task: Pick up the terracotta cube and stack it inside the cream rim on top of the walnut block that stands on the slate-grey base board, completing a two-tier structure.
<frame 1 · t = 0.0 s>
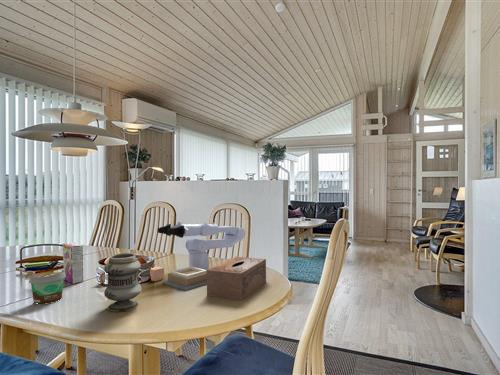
hand: (163, 231, 149), 22 cm above the table, tool horizontal, fingers open, 7 cm apart
apothecary jar: (123, 307, 115), on the table
food container: (51, 301, 122), on the table
terracotta cube: (156, 279, 150), on the table
build base: (189, 282, 144), on the table
candy bar box: (73, 281, 148), on the table
roller toy: (107, 283, 144), on the table
tissue box cover: (238, 289, 135), on the table
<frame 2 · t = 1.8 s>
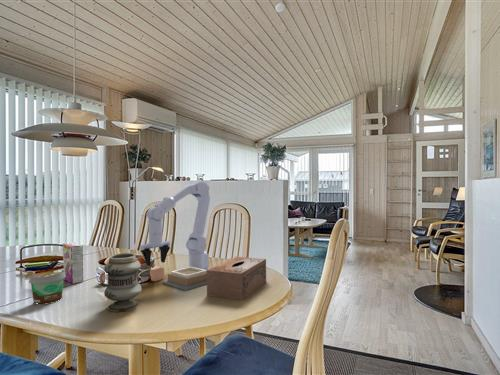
hand: (155, 263, 149), 7 cm above the table, tool pointing down, fingers open, 7 cm apart
nothing on the table moved.
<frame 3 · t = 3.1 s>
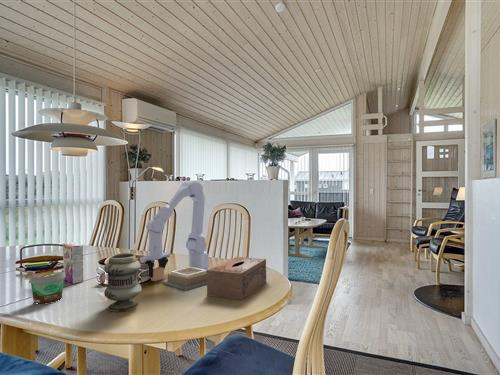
hand: (156, 275, 150), 1 cm above the table, tool pointing down, fingers closed on terracotta cube, 5 cm apart
terracotta cube: (156, 279, 150), on the table, touching gripper
everything else where it was.
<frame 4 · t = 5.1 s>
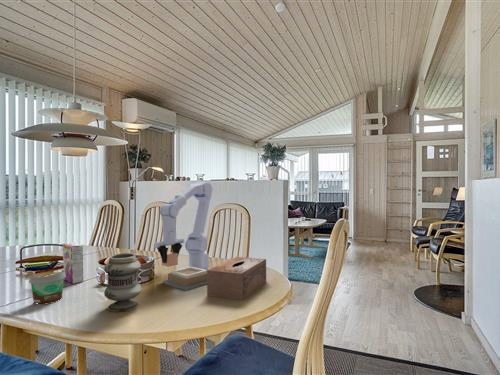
hand: (170, 261, 147), 8 cm above the table, tool pointing down, fingers closed on terracotta cube, 5 cm apart
terracotta cube: (169, 264, 147), point 7 cm above the table, touching gripper
everything else where it was.
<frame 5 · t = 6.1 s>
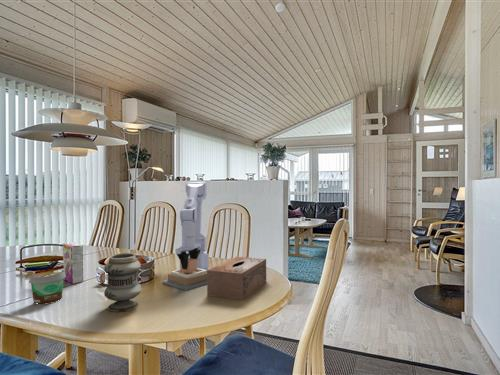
hand: (189, 267, 144), 6 cm above the table, tool pointing down, fingers closed on terracotta cube, 5 cm apart
terracotta cube: (188, 271, 144), point 5 cm above the table, touching gripper
everything else where it was.
when the fingers open (6 cm above the table, at t = 6.9 s): terracotta cube stays where it is, resting on build base.
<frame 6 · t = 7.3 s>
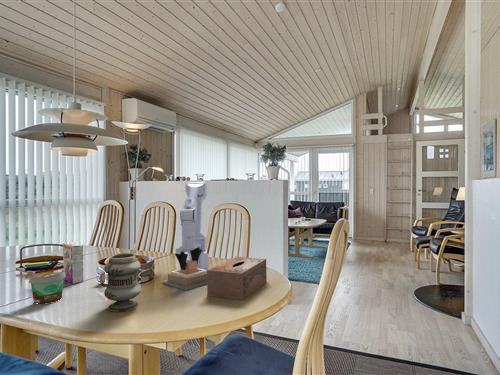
hand: (189, 267, 144), 6 cm above the table, tool pointing down, fingers open, 7 cm apart
terracotta cube: (188, 273, 144), point 4 cm above the table, touching build base
everything else where it was.
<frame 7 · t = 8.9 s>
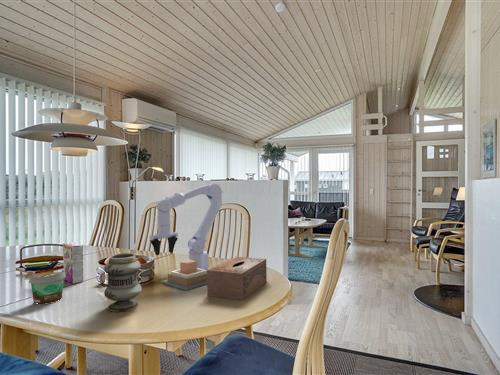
hand: (164, 253, 157), 10 cm above the table, tool pointing down, fingers open, 7 cm apart
nothing on the table moved.
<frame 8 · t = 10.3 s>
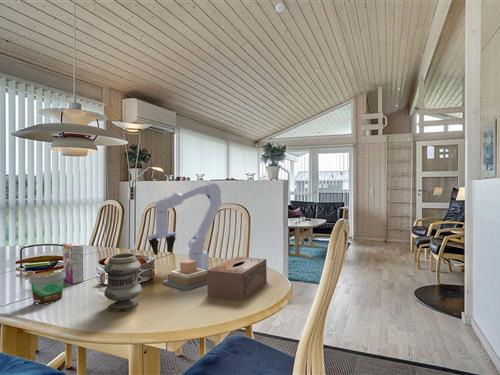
hand: (162, 253, 158), 10 cm above the table, tool pointing down, fingers open, 7 cm apart
nothing on the table moved.
at the end: terracotta cube 0.3 cm off-centre on the build base, point 4.0 cm above the build base's base; terracotta cube tilted 0°; the gripper is holding nothing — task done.
